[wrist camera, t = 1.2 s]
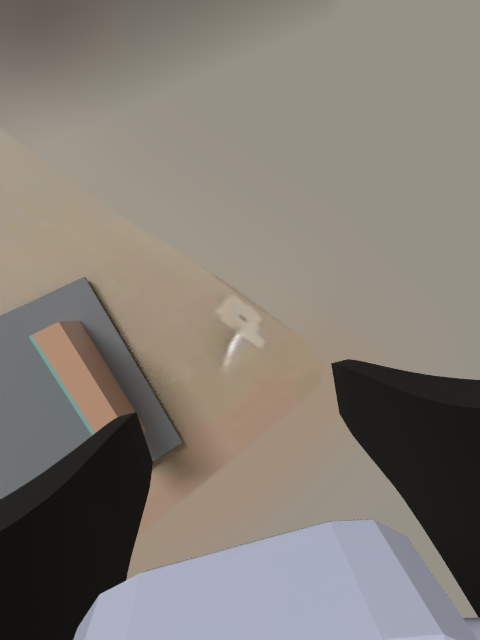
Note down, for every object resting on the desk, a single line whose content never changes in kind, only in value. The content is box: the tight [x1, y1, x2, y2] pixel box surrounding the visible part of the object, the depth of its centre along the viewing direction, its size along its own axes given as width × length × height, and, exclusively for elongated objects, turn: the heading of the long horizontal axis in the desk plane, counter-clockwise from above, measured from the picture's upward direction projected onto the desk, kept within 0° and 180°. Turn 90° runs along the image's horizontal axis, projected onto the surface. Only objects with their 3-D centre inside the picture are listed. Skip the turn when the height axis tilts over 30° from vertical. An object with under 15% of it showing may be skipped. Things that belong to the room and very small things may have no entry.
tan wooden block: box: [29, 321, 145, 436], centre depth 19 cm, size 2×9×5 cm, turn 30°
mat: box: [0, 277, 182, 499], centre depth 21 cm, size 12×14×1 cm
